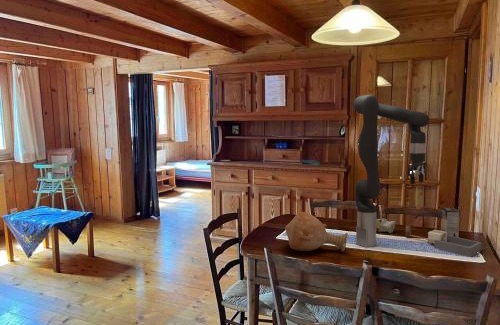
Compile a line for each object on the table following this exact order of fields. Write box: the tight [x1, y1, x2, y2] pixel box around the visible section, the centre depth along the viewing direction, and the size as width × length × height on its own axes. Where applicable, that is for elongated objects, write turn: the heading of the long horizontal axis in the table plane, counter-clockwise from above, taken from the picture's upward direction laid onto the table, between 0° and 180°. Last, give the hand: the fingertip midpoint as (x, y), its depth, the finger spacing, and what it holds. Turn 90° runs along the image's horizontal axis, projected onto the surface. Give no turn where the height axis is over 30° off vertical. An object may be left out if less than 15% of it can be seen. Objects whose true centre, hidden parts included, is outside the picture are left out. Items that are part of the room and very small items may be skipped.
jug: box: [284, 211, 348, 253], centre depth 179 cm, size 20×19×30 cm
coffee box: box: [440, 206, 460, 238], centre depth 192 cm, size 9×6×16 cm
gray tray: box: [433, 235, 483, 258], centre depth 176 cm, size 13×16×4 cm
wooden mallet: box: [404, 225, 447, 244], centre depth 189 cm, size 7×20×6 cm, turn 38°
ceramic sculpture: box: [376, 217, 396, 234], centre depth 208 cm, size 11×9×15 cm
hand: (416, 183), depth 190 cm, fingers open, 8 cm apart
